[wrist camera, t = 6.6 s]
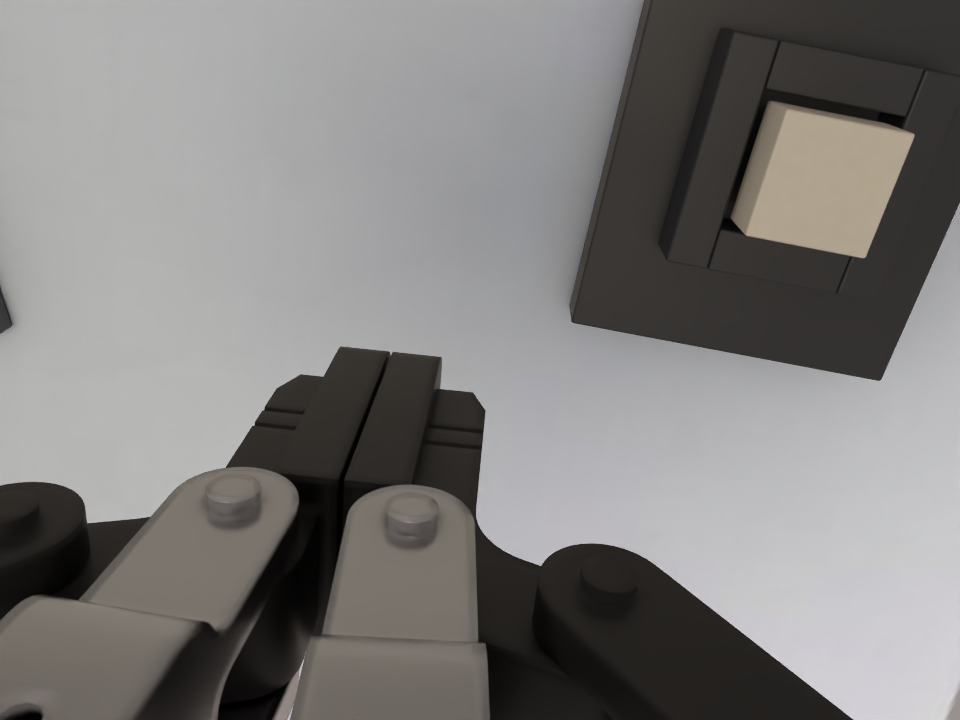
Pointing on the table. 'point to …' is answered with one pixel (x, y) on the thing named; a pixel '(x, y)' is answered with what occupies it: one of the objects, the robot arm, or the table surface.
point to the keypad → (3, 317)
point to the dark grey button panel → (723, 161)
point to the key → (819, 179)
